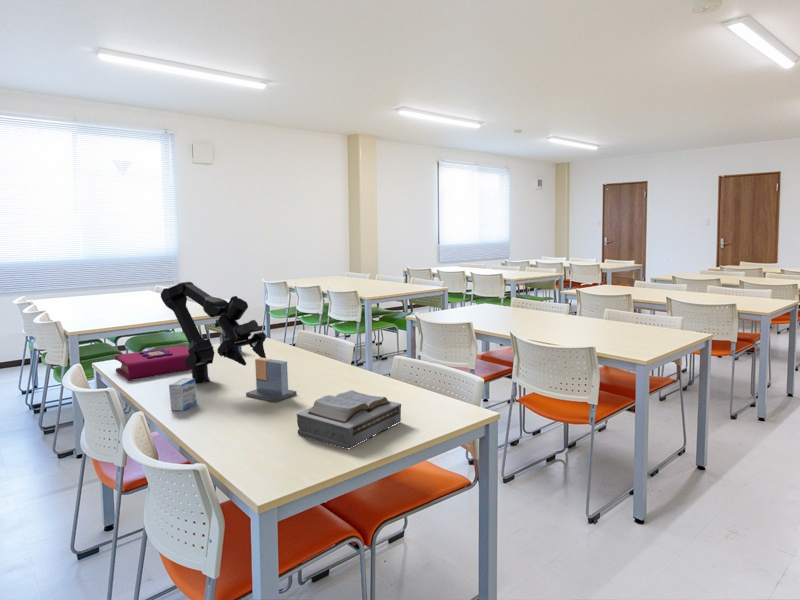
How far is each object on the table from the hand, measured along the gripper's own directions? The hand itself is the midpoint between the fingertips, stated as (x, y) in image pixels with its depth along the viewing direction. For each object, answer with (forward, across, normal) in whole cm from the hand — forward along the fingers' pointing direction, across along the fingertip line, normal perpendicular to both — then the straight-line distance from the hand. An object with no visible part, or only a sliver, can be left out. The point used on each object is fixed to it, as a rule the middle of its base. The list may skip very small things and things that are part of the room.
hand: (255, 361), depth 190 cm
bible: (+44, -12, -26) cm, 52 cm away
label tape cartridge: (-34, +40, +49) cm, 71 cm away
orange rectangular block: (+7, 0, +1) cm, 7 cm away
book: (-34, +3, +50) cm, 61 cm away
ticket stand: (+13, 0, +3) cm, 13 cm away
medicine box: (+1, -23, +14) cm, 27 cm away
